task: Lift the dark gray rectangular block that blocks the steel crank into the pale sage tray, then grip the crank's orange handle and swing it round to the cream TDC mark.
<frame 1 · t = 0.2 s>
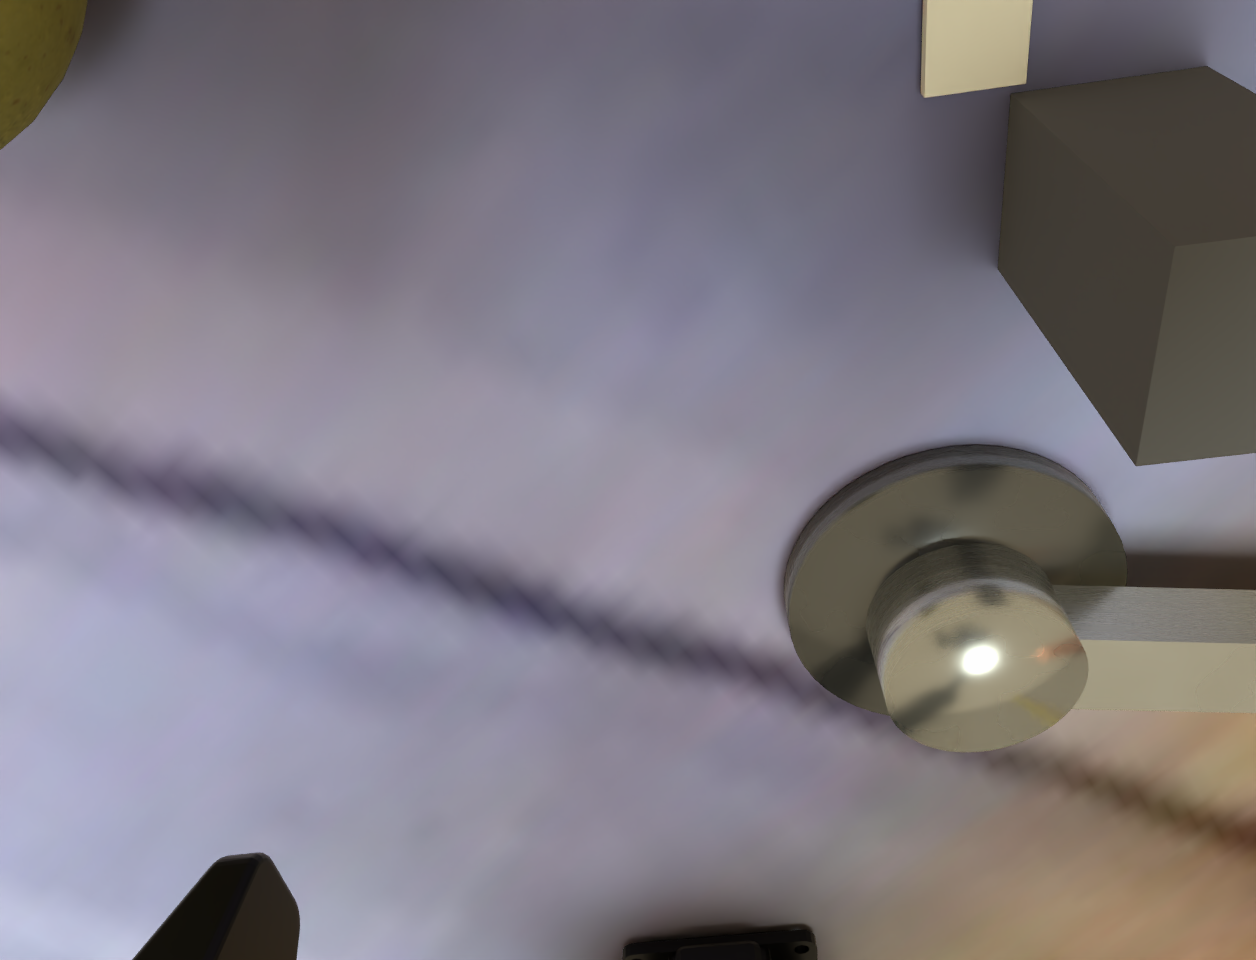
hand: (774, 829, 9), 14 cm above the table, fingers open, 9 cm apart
hub plate: (945, 578, 26), on the table
dark gray rectangular block: (1096, 173, 20), on the table
crank: (1210, 727, 22), point 5 cm above the table, hinge at 0.0°
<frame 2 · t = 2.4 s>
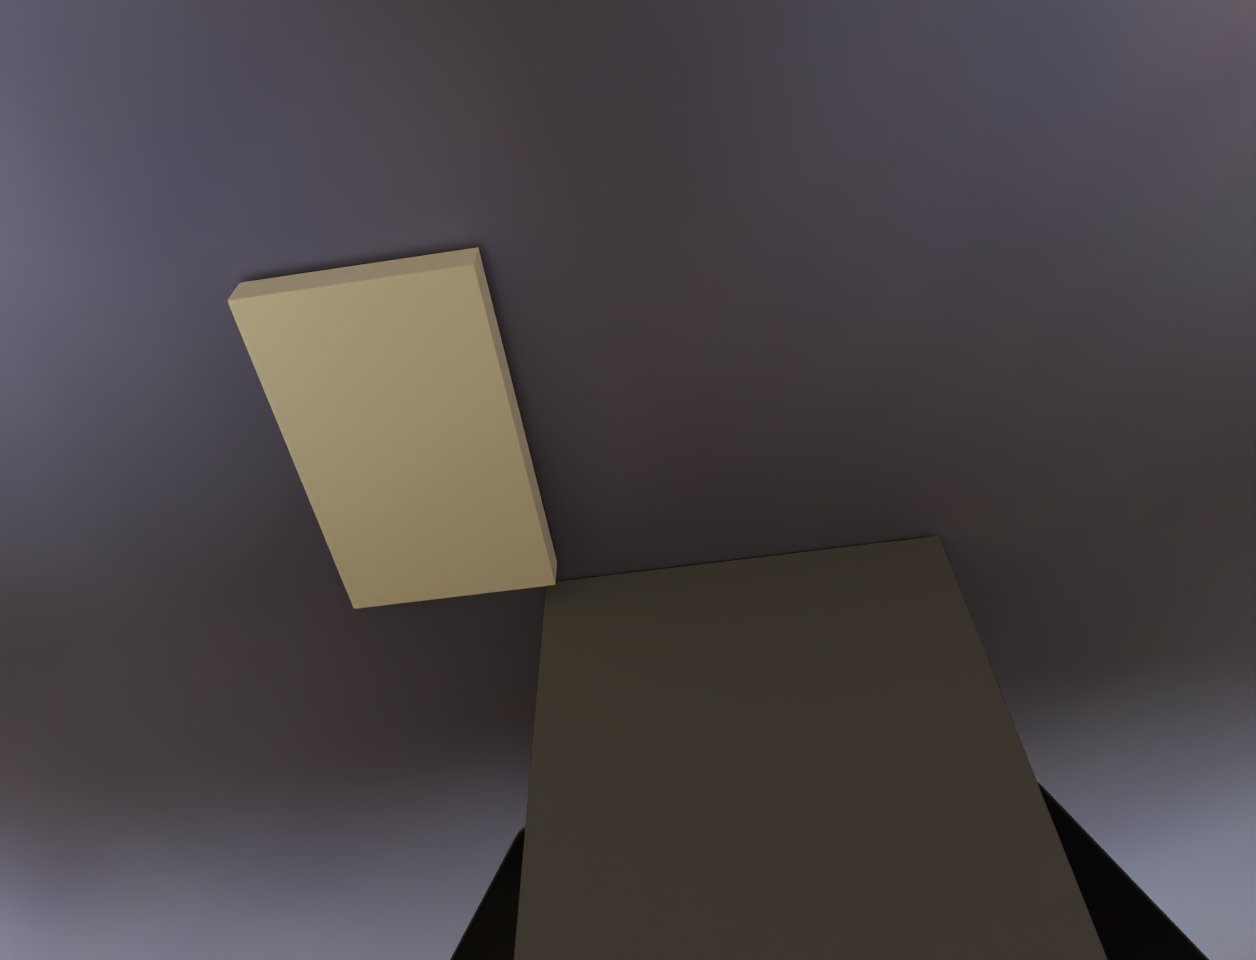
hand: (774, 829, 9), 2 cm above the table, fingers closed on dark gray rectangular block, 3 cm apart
tdc mark: (413, 435, 8), on the table
dark gray rectangular block: (755, 694, 10), on the table, touching gripper
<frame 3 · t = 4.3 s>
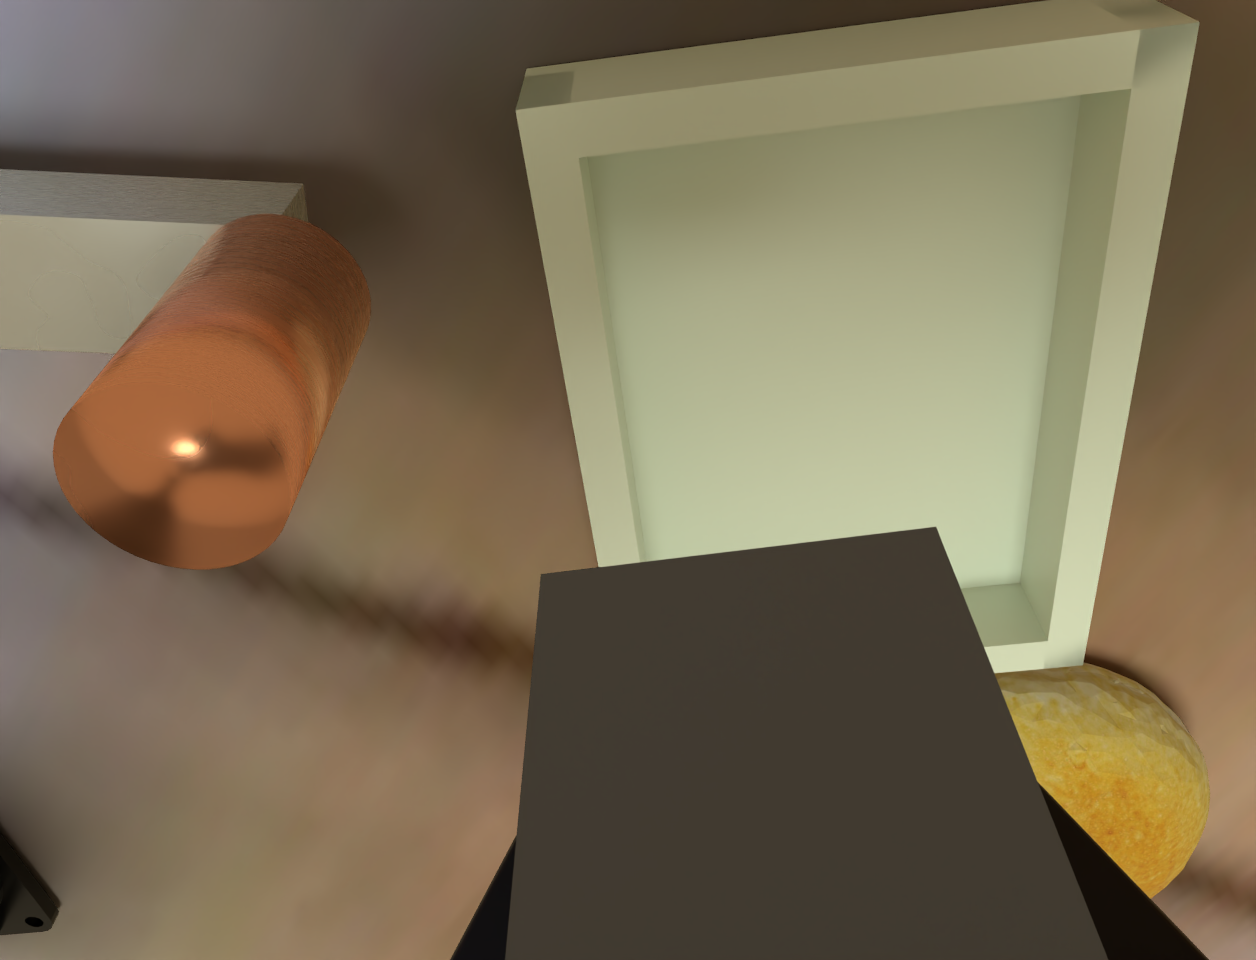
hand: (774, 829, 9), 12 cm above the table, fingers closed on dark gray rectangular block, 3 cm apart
tray: (828, 372, 20), on the table
bread roll: (988, 756, 28), on the table
dark gray rectangular block: (751, 687, 10), point 11 cm above the table, touching gripper
when the fingers open (3 cm above the table, at t = 6.4 s): dark gray rectangular block drops 1 cm, resting on tray.
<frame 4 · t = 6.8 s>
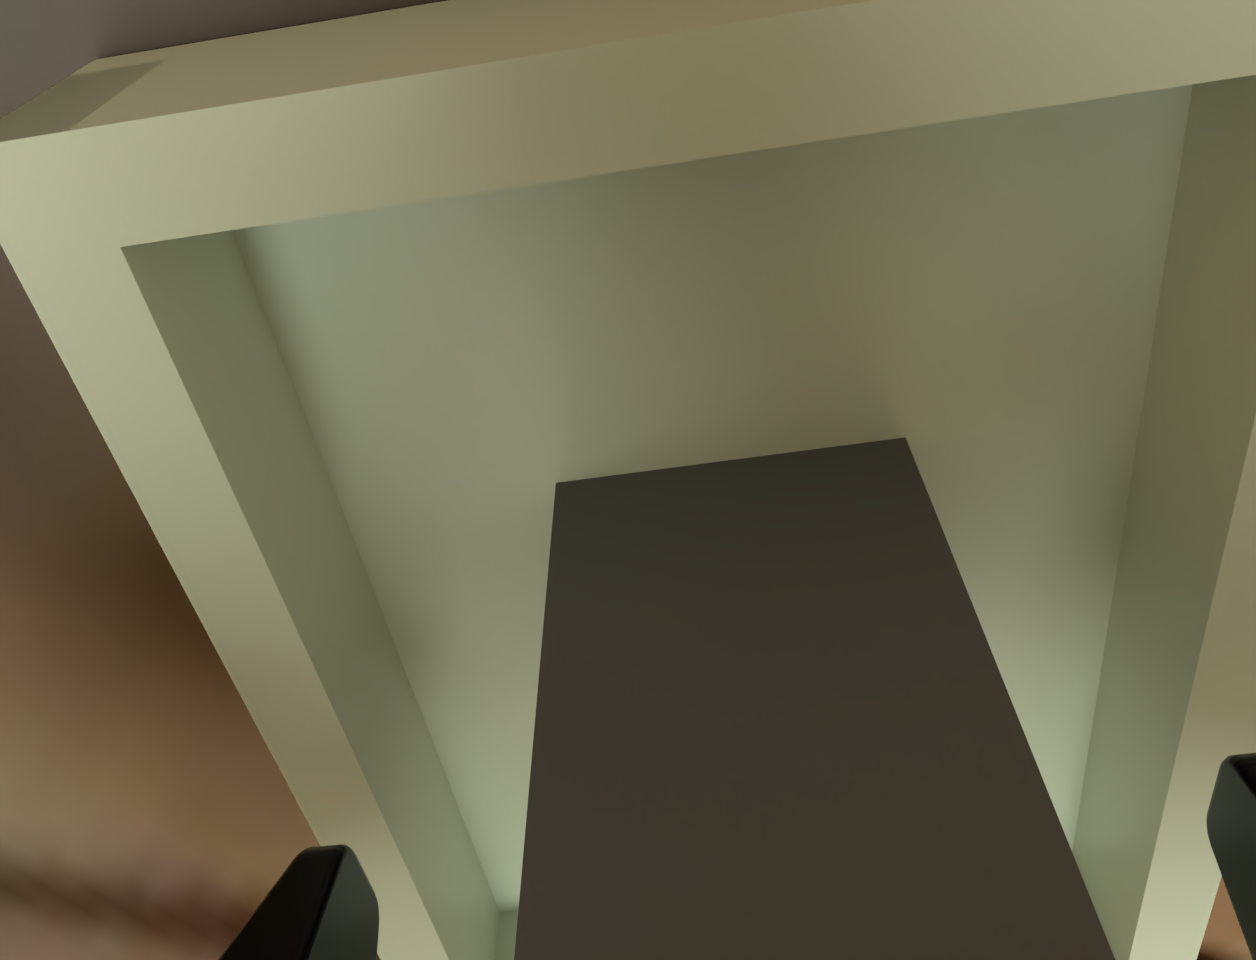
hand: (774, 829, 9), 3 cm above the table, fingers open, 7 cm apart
tray: (740, 566, 12), on the table
dark gray rectangular block: (743, 590, 11), resting on tray
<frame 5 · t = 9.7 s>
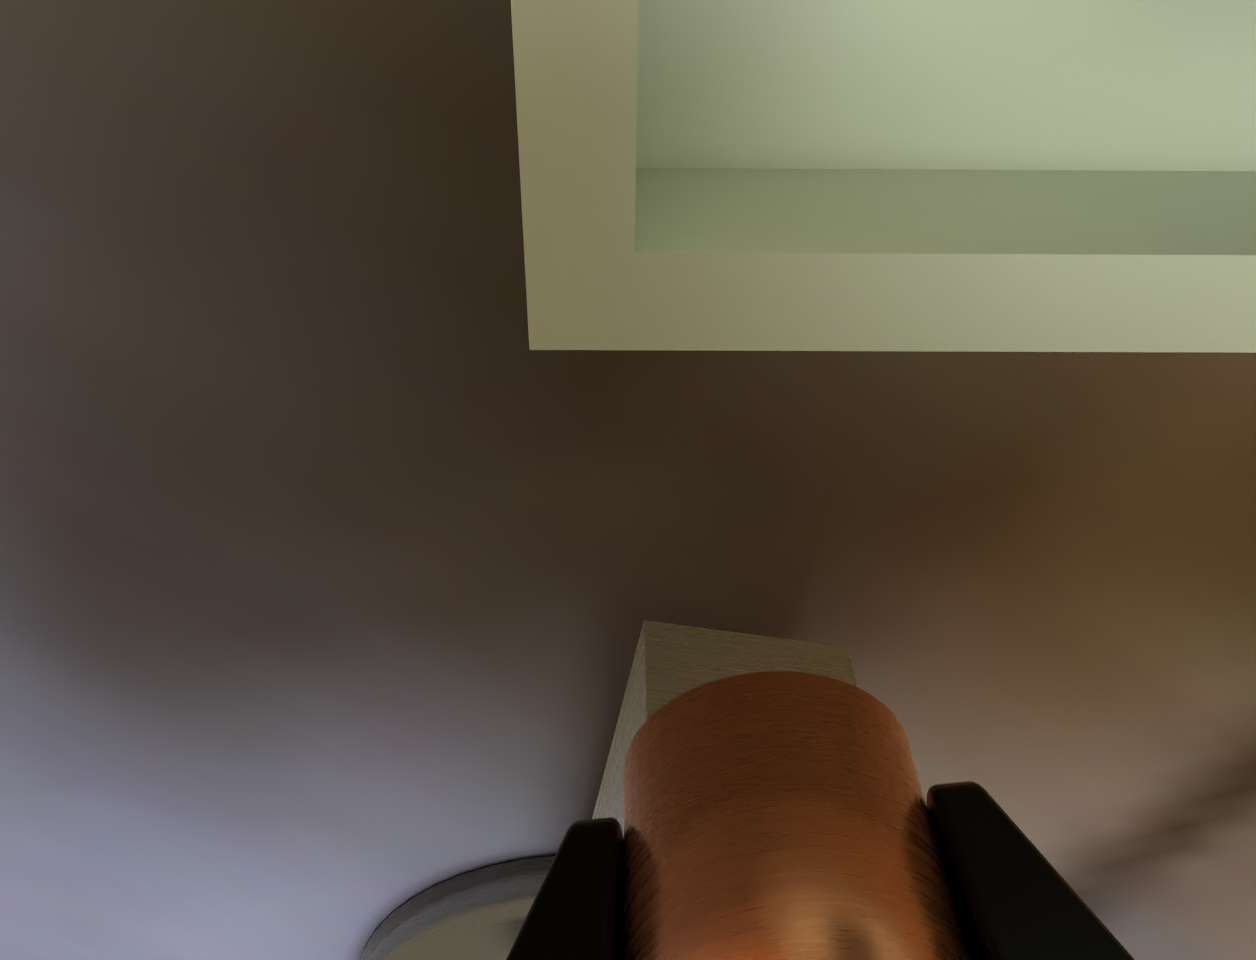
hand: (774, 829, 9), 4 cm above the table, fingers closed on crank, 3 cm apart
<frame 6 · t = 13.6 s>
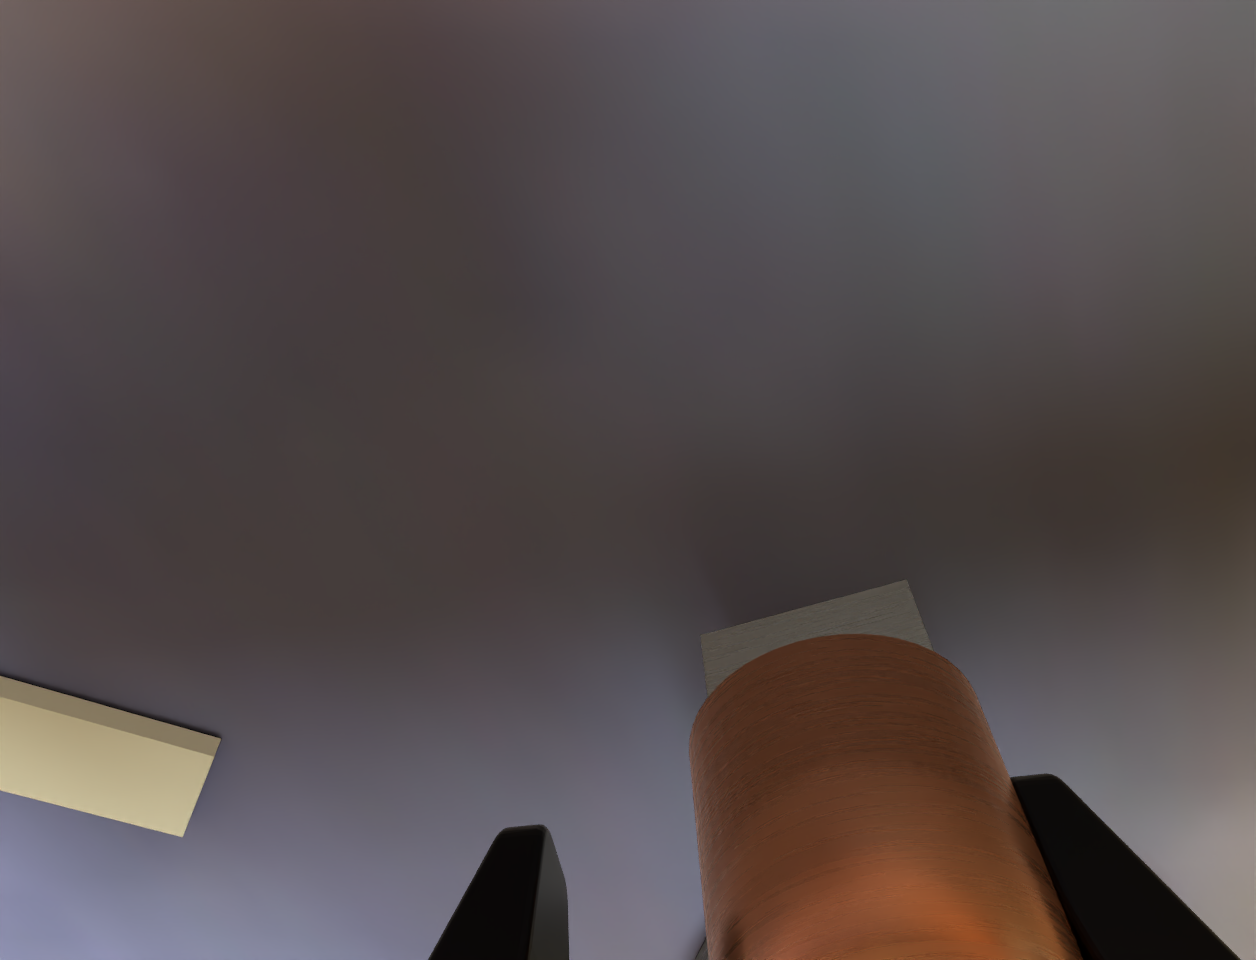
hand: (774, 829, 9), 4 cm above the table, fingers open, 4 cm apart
tdc mark: (90, 748, 14), on the table
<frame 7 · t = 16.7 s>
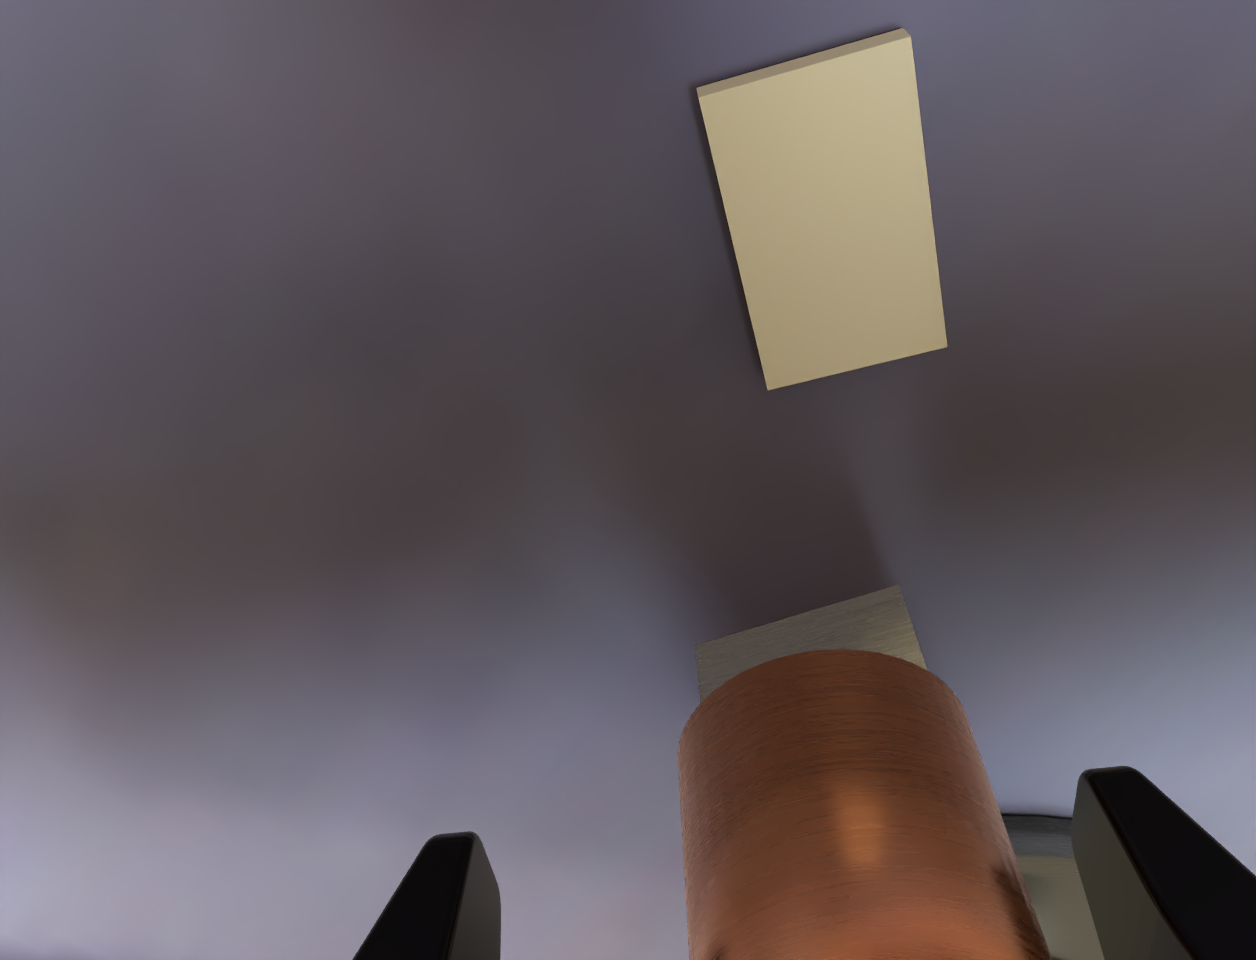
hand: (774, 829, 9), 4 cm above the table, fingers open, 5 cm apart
tdc mark: (826, 219, 10), on the table
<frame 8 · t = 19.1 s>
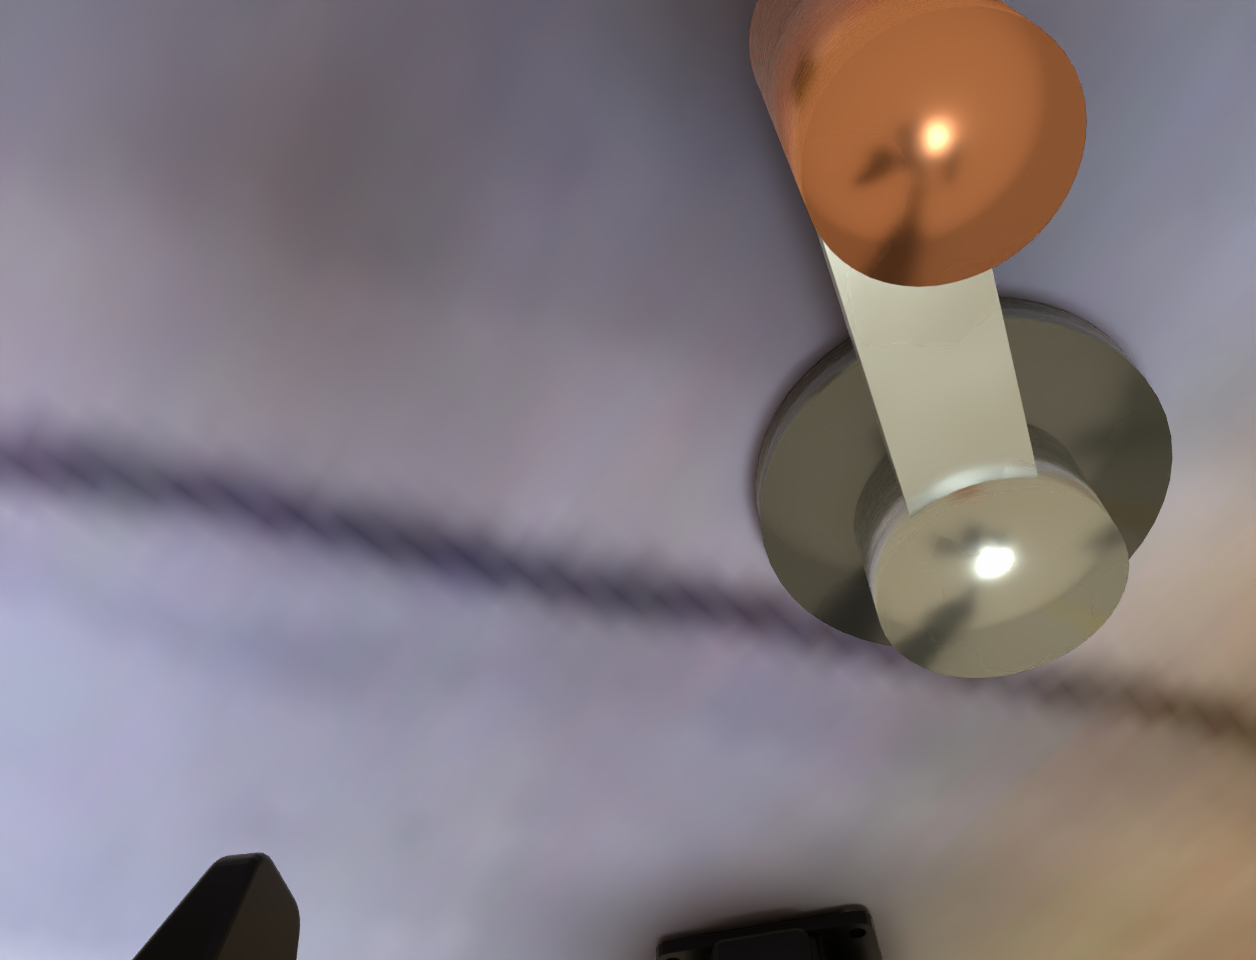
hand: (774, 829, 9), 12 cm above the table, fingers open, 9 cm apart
hub plate: (949, 474, 22), on the table
crank: (965, 423, 15), point 5 cm above the table, hinge at 106.6°
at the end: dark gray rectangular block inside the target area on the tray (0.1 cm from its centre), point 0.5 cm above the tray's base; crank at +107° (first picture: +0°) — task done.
